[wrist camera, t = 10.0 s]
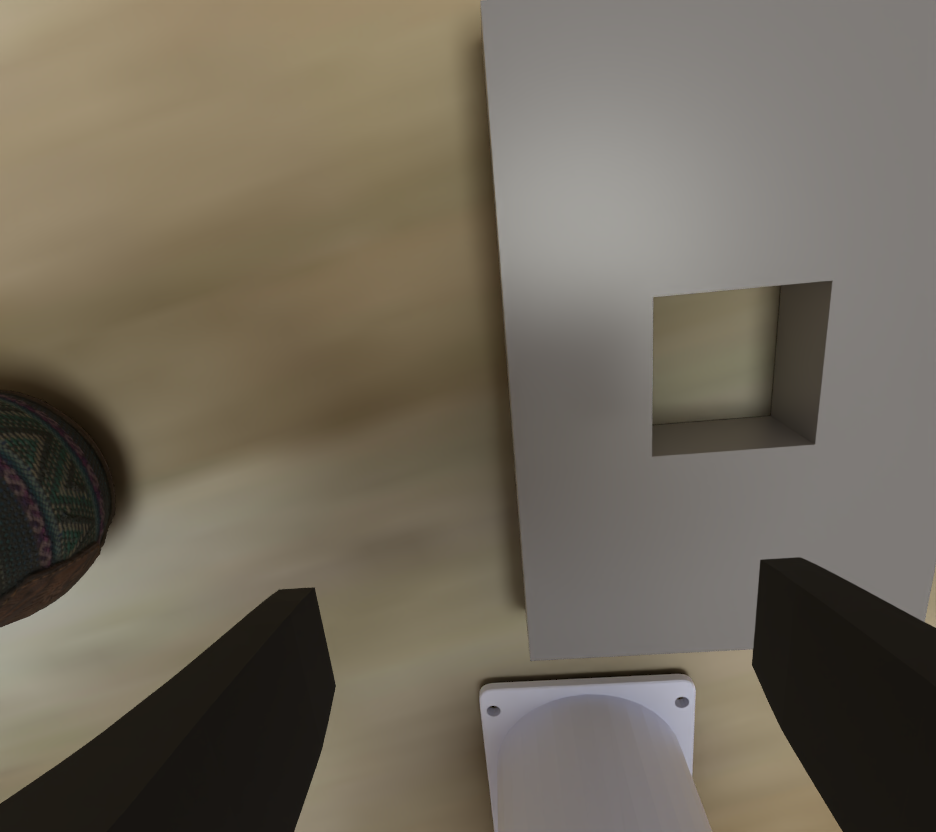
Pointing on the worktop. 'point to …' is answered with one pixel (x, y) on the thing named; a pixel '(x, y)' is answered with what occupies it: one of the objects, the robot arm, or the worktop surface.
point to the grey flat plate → (707, 270)
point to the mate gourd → (47, 504)
